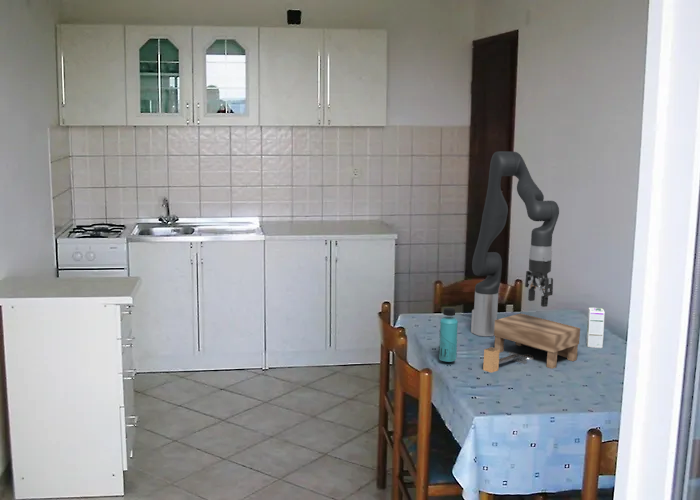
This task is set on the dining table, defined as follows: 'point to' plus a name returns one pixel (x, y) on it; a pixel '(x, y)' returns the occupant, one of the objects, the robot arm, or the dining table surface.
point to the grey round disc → (529, 357)
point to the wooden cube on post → (493, 359)
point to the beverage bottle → (448, 336)
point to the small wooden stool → (538, 336)
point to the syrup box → (595, 327)
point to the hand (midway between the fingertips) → (537, 303)
